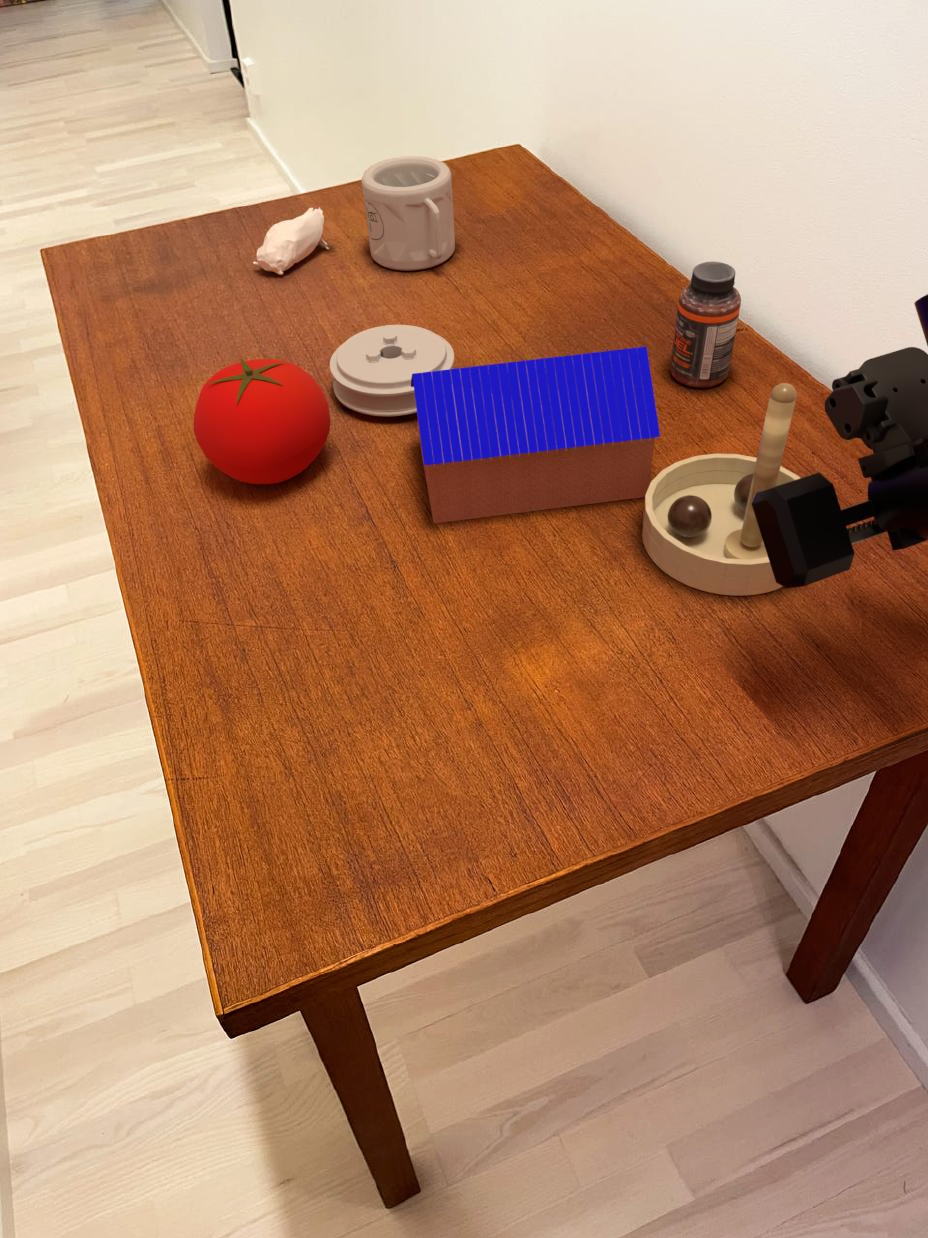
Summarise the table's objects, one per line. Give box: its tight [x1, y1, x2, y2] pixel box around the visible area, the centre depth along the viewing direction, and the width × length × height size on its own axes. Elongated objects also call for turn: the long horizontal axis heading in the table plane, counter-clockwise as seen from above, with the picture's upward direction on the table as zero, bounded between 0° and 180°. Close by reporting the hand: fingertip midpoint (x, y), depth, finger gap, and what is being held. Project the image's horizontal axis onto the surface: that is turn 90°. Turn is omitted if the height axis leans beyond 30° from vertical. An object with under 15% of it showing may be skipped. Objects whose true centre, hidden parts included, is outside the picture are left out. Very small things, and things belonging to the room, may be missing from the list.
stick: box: [724, 382, 798, 559], centre depth 73 cm, size 4×4×16 cm
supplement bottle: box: [669, 261, 742, 389], centre depth 95 cm, size 6×6×11 cm
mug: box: [361, 155, 456, 272], centre depth 117 cm, size 14×11×10 cm
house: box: [411, 346, 661, 524], centre depth 85 cm, size 12×20×12 cm, turn 98°
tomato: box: [193, 358, 331, 485], centre depth 88 cm, size 11×12×10 cm
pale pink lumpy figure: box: [252, 206, 330, 276], centre depth 119 cm, size 5×7×10 cm
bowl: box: [641, 452, 801, 597], centre depth 80 cm, size 14×14×4 cm
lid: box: [329, 324, 455, 417], centre depth 98 cm, size 13×13×5 cm
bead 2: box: [734, 473, 754, 513], centre depth 81 cm, size 4×4×4 cm
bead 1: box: [667, 495, 712, 539], centre depth 80 cm, size 4×4×4 cm
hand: (818, 516), depth 68 cm, fingers open, 9 cm apart
